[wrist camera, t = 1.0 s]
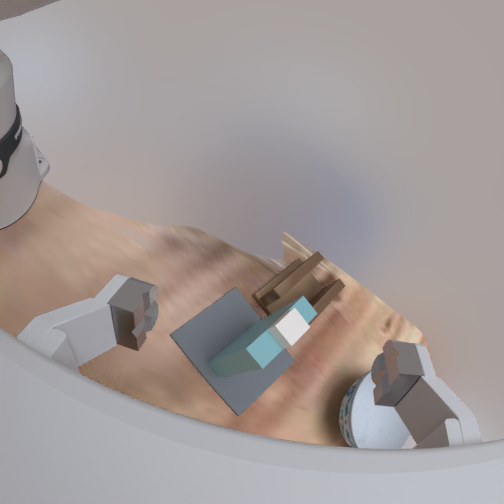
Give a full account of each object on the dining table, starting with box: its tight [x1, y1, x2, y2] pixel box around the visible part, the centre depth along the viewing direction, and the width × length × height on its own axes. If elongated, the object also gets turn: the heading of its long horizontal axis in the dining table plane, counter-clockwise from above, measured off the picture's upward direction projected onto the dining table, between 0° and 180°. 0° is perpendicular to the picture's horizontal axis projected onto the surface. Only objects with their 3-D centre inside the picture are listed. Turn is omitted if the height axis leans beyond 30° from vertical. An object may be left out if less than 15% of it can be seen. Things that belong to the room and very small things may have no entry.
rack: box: [253, 252, 345, 325], centre depth 45 cm, size 9×11×6 cm
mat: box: [170, 287, 295, 416], centre depth 40 cm, size 14×12×1 cm
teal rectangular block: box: [207, 296, 318, 377], centre depth 34 cm, size 2×9×15 cm, turn 133°
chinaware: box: [339, 371, 411, 449], centre depth 39 cm, size 15×15×8 cm
